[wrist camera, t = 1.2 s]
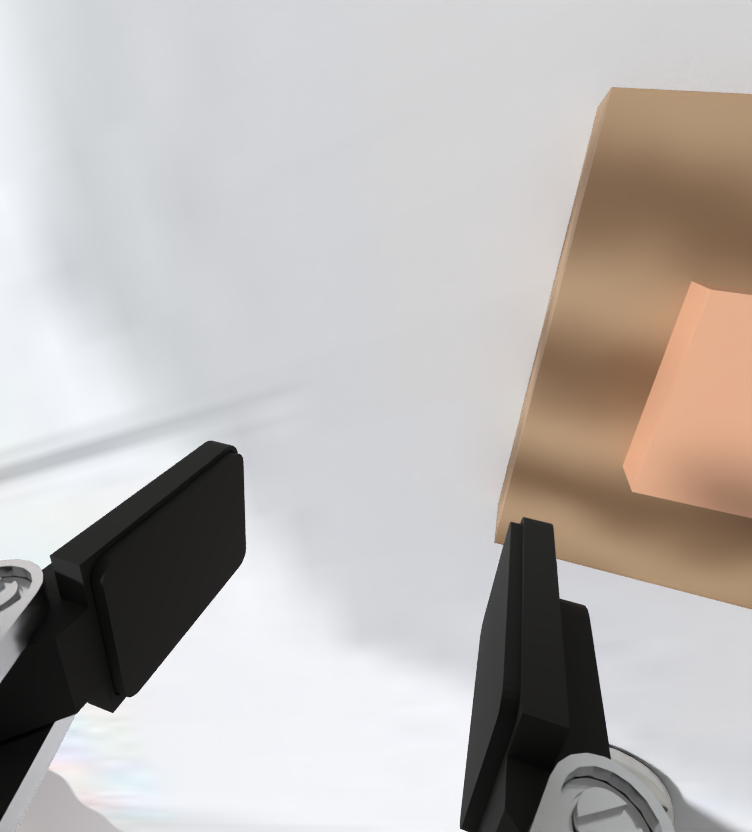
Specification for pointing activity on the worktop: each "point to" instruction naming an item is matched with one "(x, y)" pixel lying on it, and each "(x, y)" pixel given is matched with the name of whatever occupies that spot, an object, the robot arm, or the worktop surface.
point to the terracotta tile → (700, 407)
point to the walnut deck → (635, 338)
